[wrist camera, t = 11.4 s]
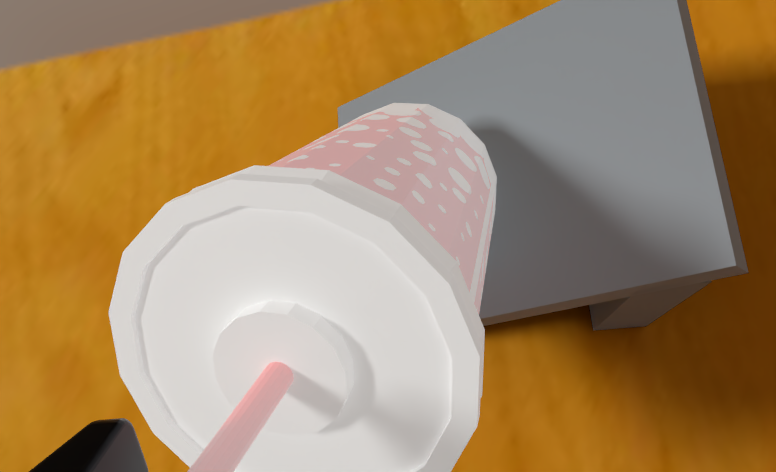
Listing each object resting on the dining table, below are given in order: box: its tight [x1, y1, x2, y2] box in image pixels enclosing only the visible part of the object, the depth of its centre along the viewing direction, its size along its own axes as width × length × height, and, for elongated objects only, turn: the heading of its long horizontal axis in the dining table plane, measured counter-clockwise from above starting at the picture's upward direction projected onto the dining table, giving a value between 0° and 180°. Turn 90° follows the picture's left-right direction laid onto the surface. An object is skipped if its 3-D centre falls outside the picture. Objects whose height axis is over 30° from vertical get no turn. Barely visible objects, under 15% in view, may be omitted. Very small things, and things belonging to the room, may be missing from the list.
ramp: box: [338, 0, 749, 330], centre depth 20 cm, size 10×8×7 cm
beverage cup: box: [109, 103, 497, 472], centre depth 13 cm, size 6×6×14 cm
